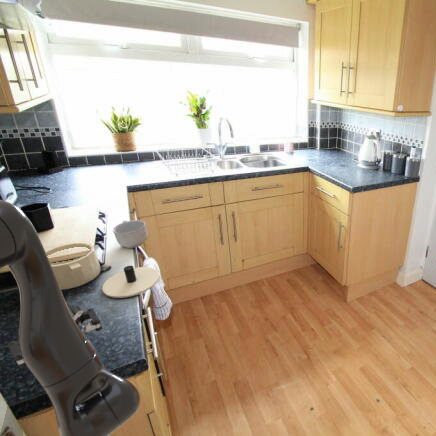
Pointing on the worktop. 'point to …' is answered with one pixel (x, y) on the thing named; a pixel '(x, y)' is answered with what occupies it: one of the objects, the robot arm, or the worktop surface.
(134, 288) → the pot lid
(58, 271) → the pot
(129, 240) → the teacup
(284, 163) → the worktop surface
